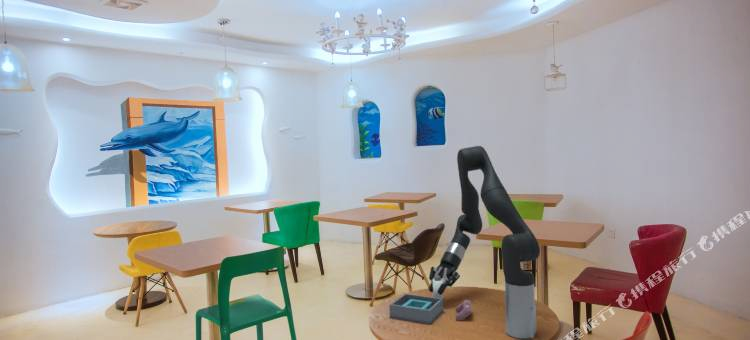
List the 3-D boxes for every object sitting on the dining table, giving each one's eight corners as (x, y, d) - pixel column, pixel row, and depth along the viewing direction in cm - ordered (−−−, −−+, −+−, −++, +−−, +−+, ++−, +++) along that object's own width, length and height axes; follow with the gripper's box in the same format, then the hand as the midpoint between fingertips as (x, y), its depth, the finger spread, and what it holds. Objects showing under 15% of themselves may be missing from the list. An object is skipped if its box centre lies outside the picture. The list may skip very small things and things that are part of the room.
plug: (444, 300, 176) (444, 275, 176) (441, 303, 173) (440, 278, 172) (435, 299, 178) (434, 274, 178) (431, 302, 175) (430, 277, 174)
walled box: (443, 311, 169) (443, 298, 169) (430, 324, 157) (429, 310, 157) (405, 305, 177) (404, 293, 177) (389, 317, 165) (389, 304, 164)
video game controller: (466, 325, 159) (474, 308, 158) (454, 319, 160) (462, 302, 159) (465, 315, 169) (473, 299, 168) (454, 310, 169) (462, 294, 168)
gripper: (435, 248, 185) (416, 283, 177) (463, 253, 174) (444, 291, 167) (444, 258, 189) (425, 293, 181) (471, 264, 178) (453, 301, 170)
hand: (434, 292), depth 174 cm, fingers closed on plug, 4 cm apart
